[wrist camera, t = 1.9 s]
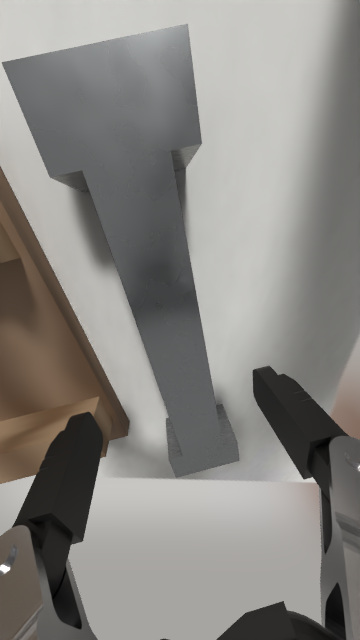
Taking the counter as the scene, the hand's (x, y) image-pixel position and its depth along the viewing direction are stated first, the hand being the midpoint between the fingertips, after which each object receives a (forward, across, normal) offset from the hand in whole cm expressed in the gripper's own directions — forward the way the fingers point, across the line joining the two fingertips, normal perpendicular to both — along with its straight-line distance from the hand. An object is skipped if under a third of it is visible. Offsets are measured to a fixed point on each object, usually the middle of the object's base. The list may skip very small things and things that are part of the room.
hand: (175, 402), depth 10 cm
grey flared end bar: (+7, -1, 0) cm, 7 cm away
